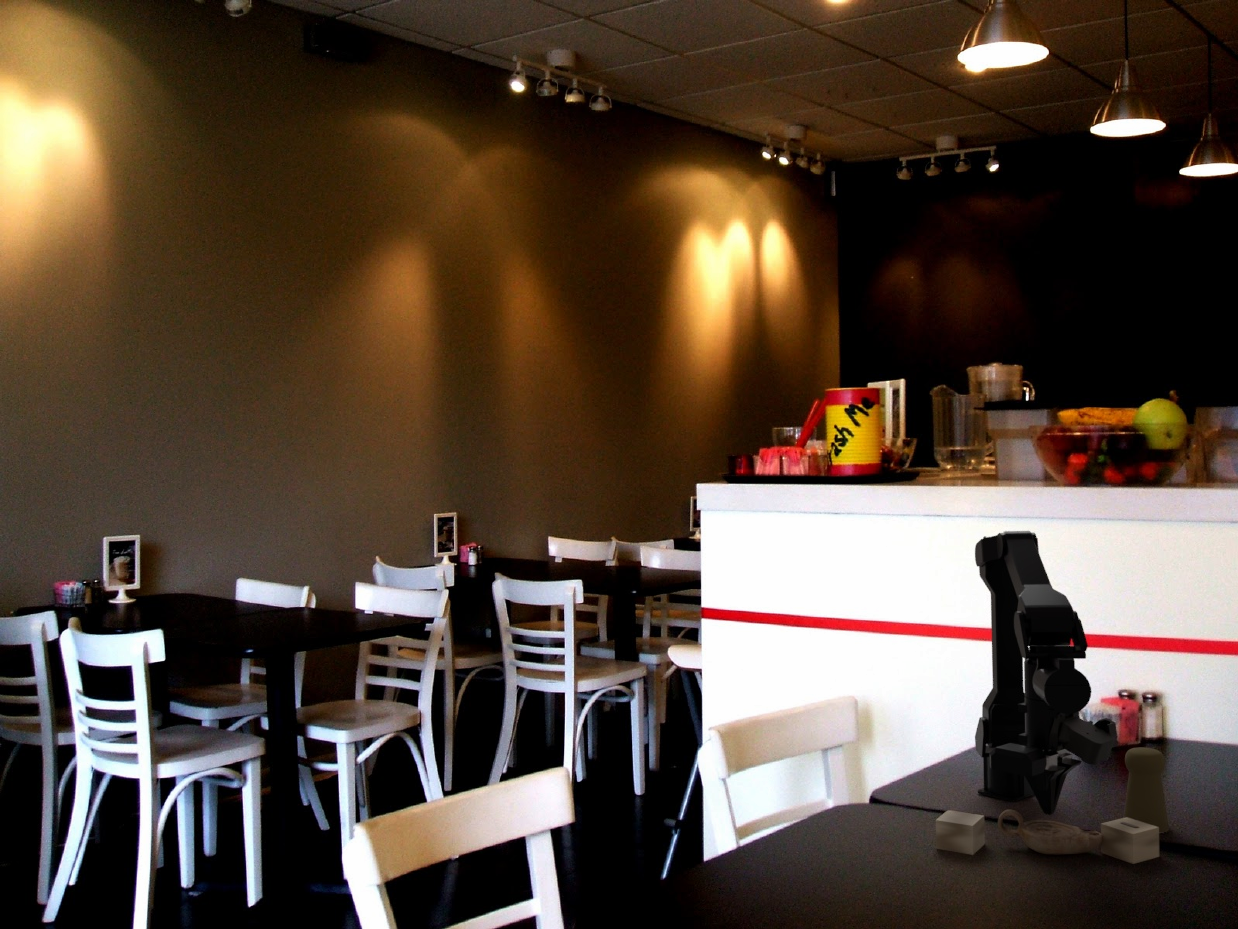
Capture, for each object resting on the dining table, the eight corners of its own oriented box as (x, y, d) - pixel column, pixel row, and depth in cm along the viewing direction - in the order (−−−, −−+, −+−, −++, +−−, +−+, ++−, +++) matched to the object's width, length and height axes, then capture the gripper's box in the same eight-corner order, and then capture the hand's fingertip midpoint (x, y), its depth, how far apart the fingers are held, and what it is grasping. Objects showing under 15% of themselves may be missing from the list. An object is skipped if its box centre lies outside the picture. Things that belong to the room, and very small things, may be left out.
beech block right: (1101, 853, 163) (1100, 823, 163) (1126, 847, 165) (1126, 816, 165) (1133, 865, 159) (1132, 833, 158) (1159, 857, 161) (1158, 826, 161)
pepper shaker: (1174, 835, 169) (1173, 755, 169) (1127, 833, 170) (1126, 754, 170) (1163, 821, 175) (1162, 744, 175) (1118, 819, 176) (1117, 743, 176)
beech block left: (936, 849, 166) (935, 820, 166) (948, 839, 170) (948, 810, 170) (973, 856, 163) (972, 825, 163) (984, 845, 167) (984, 815, 167)
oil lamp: (1104, 848, 165) (1104, 811, 165) (1100, 866, 158) (1099, 828, 158) (1002, 836, 170) (1002, 800, 170) (994, 854, 164) (993, 816, 164)
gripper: (1065, 718, 152) (1066, 844, 152) (1141, 695, 164) (1142, 812, 164) (986, 704, 160) (988, 824, 161) (1063, 683, 172) (1065, 795, 173)
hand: (1048, 814), depth 164 cm, fingers closed
